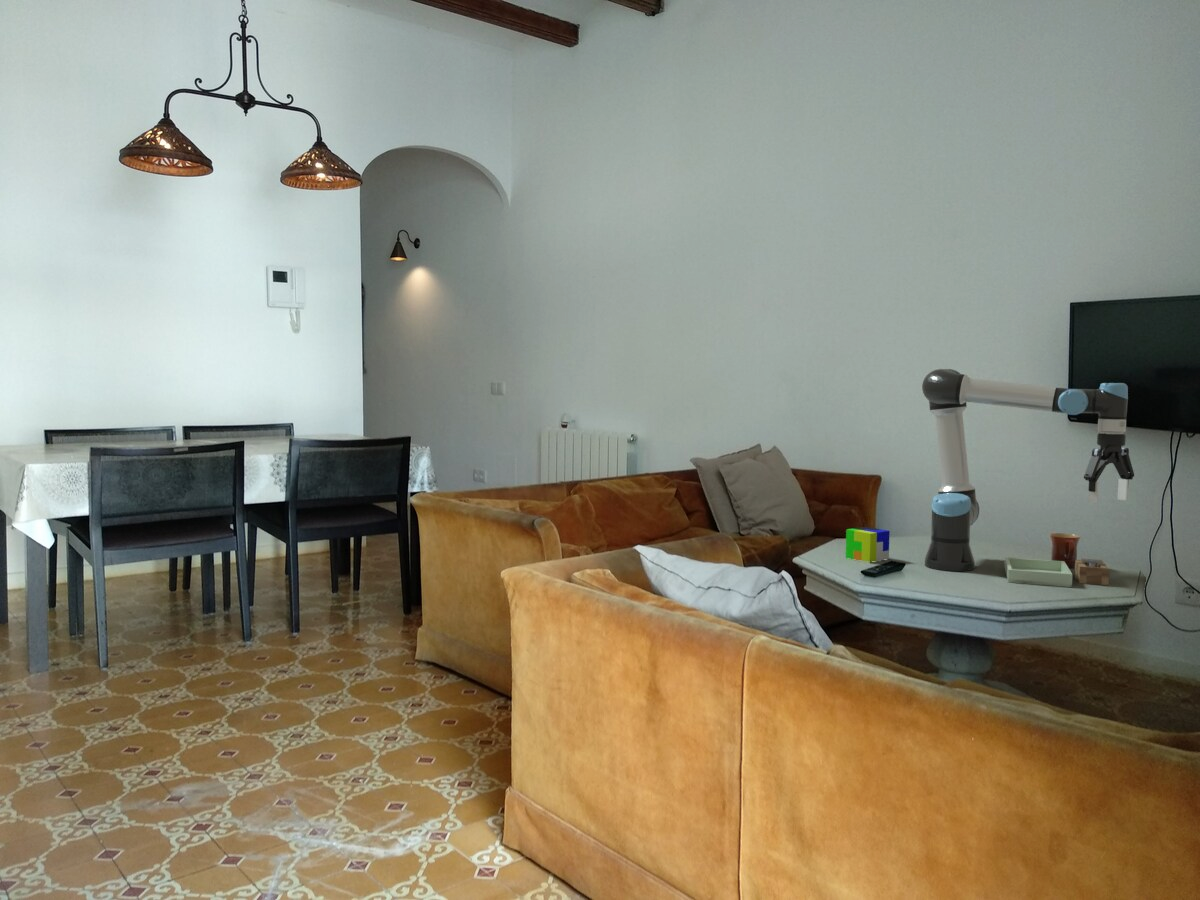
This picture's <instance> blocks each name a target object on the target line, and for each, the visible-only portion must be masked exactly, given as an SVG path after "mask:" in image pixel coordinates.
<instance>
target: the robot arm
mask: <svg viewBox="0 0 1200 900" xmlns="http://www.w3.org/2000/svg"><path fill="white" fill-rule="evenodd" d="M921 384H922V385H921V387H922V388H921V389H922V393H923V396H924V398H926V399H927V400H928V404H929V411H930V412H931V414H933V415H934V417H935V427H936V434H937V446H938V447H937V448H938V454H939V455H938V456H939V466H940V474H941V486H940V488H939V489H937V490H938V491H937V492H938V493H937V494H936V495H934V497H933V498H932V502H931V529H930V530H931V536H930V543H929V547H928V550H927V551H926V554H925V557H924V566H926V567H927V568H931V569H935V570H940V571H941V570H942V571H951V572H967V571H972V570H974V569H975V563H976V562H975V558H974V556H973V555H974V554H973V552H972V549H971V546H970V545H971V544H970V542H971V541H970V539H971V538H970V537H971V536H970V535H971V526H972V525H973V524H974V523H976V521H977V519H978V518H979V515H980V506H979V502H978V500H977V496H976V488H975V486H973V485H972V484H971V482H970V475H969V474H970V473H969V465H968V457H967V456H968V455H967V447H966V445H967V444H966V436H965V435H966V434H965V426H964V425H965V424H964V418H963V417H964V416H963V412H965V410H966V409H967V403H974V404H983V405H990V406H991V405H992V406H1000V407H1007V408H1008V407H1010V408H1018V409H1026V410H1033V411H1034V410H1035V411H1043V412H1052V413H1061V414H1066V415H1071V416H1077V415H1079V414H1098V420H1097V432H1098V434H1097V437H1096V438H1097V440H1096V444H1097V445H1098V446H1100V447H1099V448H1092V451H1091V456H1090V458H1089V462H1088V464H1087V467H1086V470H1085V472H1084V474H1083V480H1085V481H1088V489H1087V490H1088V503H1089V502H1090V503H1096V504H1098V503H1099V493H1100V481H1098V480H1099V478H1100V476H1101V475H1102V473H1103V472H1104V470H1105V468H1107V466H1108V465H1109V464H1113V466H1114V468H1115V470H1116V472H1117V473H1118V475H1119V477H1120V478H1118V481H1117V482H1118V483H1117V484H1118V485H1117V500H1120V501H1128V493H1129V484H1130V482H1129V481H1130V480H1133V479H1134V477H1135V473H1134V467H1133V465H1132V461H1131V458H1130V457H1131V456H1130V449H1129V448H1128V447H1124V446H1125V445H1126V434H1125V433H1126V432H1127V415H1128V405H1129V404H1128V401H1129V396H1128V395H1129V393H1128V392H1129V391H1128V390H1129V387H1128V385H1127V384H1126V383H1124V382H1116V383H1115V382H1109V383H1108V382H1103V383H1100V386H1099V388H1097V389H1096V388H1095V389H1094V388H1093V389H1091V388H1090V389H1089V388H1065V387H1056V386H1047V385H1038V384H1037V385H1036V384H1029V383H1018V382H1011V381H1010V382H1009V381H1000V380H990V379H982V378H981V379H980V378H972V377H971V378H970V377H969V376H968V374H962V373H961V372H959V371H957V370H955V369H952V368H951V369H950V368H948V369H947V368H938V369H934V370H931V371H930V372H929V373H928V374H926V376H925V377H924V379H923V381H922V383H921Z"/></svg>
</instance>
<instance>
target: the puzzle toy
mask: <svg viewBox="0 0 1200 900" xmlns="http://www.w3.org/2000/svg"><path fill="white" fill-rule="evenodd" d="M890 532H891V531H890V530H887V529H880V528H876V527H869V526H863V527H861V526H860V527H854V528H847V529H846V530H845V533H846V534H845V559H847V558H851V559H850V560H852V559H856V560H855V561H857V560H862V561H868V562H872V561H878V560H884V559H889V560H890Z"/></svg>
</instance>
